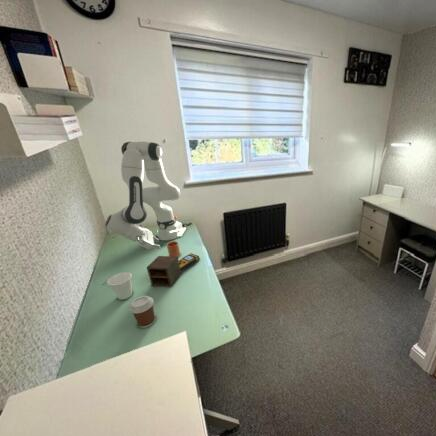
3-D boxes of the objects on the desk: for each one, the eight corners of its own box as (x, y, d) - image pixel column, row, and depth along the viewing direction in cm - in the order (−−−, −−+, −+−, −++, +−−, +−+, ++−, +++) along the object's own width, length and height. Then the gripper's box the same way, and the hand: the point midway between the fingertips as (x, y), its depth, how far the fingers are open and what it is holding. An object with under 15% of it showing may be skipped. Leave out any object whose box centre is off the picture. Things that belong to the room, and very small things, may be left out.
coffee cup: (147, 332, 100) (140, 311, 95) (130, 327, 103) (122, 306, 98) (163, 316, 108) (157, 296, 104) (147, 312, 111) (140, 292, 106)
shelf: (162, 273, 138) (158, 255, 133) (181, 274, 137) (177, 256, 132) (151, 285, 128) (146, 267, 123) (171, 286, 127) (166, 268, 122)
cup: (141, 290, 124) (136, 272, 120) (127, 303, 115) (121, 285, 111) (123, 288, 125) (117, 271, 121) (108, 302, 116) (101, 284, 112)
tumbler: (172, 253, 158) (170, 241, 154) (182, 253, 157) (179, 241, 154) (167, 258, 152) (164, 246, 148) (177, 258, 151) (174, 246, 148)
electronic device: (169, 269, 141) (168, 265, 140) (190, 256, 154) (189, 252, 153) (179, 273, 138) (178, 268, 136) (200, 260, 151) (199, 255, 149)
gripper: (140, 236, 130) (163, 247, 139) (139, 223, 146) (160, 233, 155) (133, 245, 130) (156, 256, 138) (133, 231, 146) (154, 241, 154)
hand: (158, 244), depth 147 cm, fingers open, 8 cm apart
